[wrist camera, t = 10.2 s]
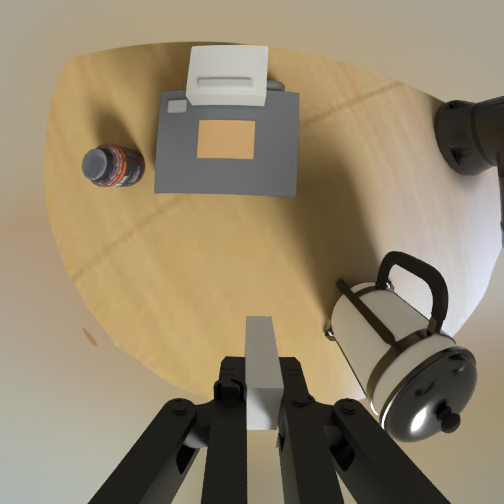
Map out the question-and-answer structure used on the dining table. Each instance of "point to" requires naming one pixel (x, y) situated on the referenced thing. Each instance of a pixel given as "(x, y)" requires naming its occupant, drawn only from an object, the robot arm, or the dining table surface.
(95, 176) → the supplement bottle
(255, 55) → the hatch door
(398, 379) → the coffee press
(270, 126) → the gray box
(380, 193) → the dining table surface
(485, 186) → the dining table surface
